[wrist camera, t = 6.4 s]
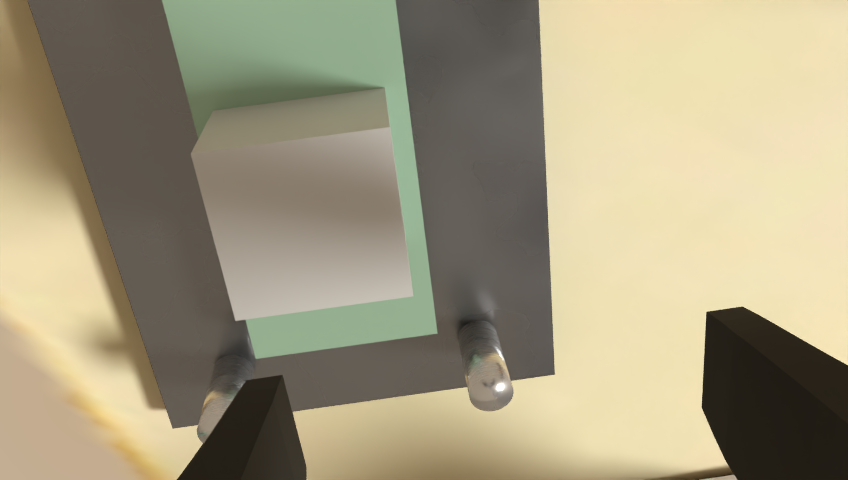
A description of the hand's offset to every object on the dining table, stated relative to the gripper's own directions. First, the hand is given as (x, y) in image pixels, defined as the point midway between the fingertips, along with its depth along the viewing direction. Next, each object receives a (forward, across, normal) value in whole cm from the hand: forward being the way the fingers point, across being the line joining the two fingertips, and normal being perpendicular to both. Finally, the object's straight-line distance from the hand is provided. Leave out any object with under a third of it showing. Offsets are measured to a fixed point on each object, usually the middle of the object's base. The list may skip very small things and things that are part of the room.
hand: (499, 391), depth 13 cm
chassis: (+10, +3, -1) cm, 10 cm away
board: (+8, +3, -1) cm, 9 cm away
